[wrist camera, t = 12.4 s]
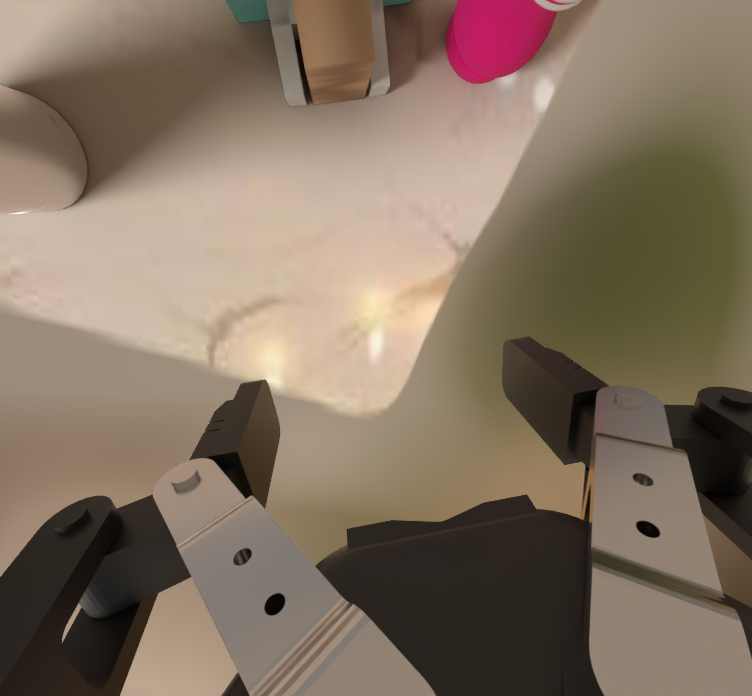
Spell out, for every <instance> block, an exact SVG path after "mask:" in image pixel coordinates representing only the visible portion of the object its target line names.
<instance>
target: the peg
mask: <svg viewBox="0 0 752 696" xmlns="http://www.w3.org/2000/svg"><path fill="white" fill-rule="evenodd" d="M293 4H294V10H295V15H296V21H297V27H298V33H299V38H300V44H301V50H302V56H303V61H304V67H305V72H306V76H307V80H308V84H309V88H310V92H311V96H312V100H313V104H314V105H319V104H326V103H334V102H341V101H348V100H356V99H363V98H364V97H365V94H366V91H367V87H368V84H369V81H370V77H371V74H372V70H373V67H374V64H375V60H376V57H375V47H374V38H373V28H372V19H371V9H370V0H293Z"/></svg>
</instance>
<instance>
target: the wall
mask: <svg viewBox="0 0 752 696" xmlns="http://www.w3.org/2000/svg"><path fill="white" fill-rule="evenodd" d="M226 1H227V3H228V5H229V7H230V8H231V10H232V12H233V14H234V15H235V17H236V19H237V21H238V22H239V23H243V22H252V21H260V20H269V19H270V18H269V13H268V8H267V3H266V0H226ZM410 1H411V0H383V6H388V5H397V4H405V3H410Z"/></svg>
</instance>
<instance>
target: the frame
mask: <svg viewBox="0 0 752 696" xmlns="http://www.w3.org/2000/svg"><path fill="white" fill-rule="evenodd" d="M266 3H267V8H268V13H269V18H270V24H271V29H272V34H273V39H274V44H275V49H276V54H277V60H278V65H279V70H280V75H281V80H282V85H283V90H284V96H285V99H286V101H287V103H288V105H289V107H294V106H302V105H307V104H306V98H305V92H304V87H303V81H302V75H301V69H300V64H299V58H298V52H297V46H296V41H295V40H300V38H299V33H298V27H297V21H296V15H295V10H294V4H293V0H266ZM370 9H371V19H372V28H373V38H374V47H375V57H376V60H375V64H374V67H373V70H372V74H371V77H370V81H369V84H368V95H369V97H372V96H380V95H386V93H387V91H388V89H389V87H390V77H389V66H388V55H387V44H386V33H385V22H384V11H383V0H370Z"/></svg>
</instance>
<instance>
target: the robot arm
mask: <svg viewBox="0 0 752 696" xmlns="http://www.w3.org/2000/svg"><path fill="white" fill-rule="evenodd" d="M87 173H88V171H87V162H86V157H85V154H84V151H83V148H82V145H81V143H80V142H79V140H78V138H77V136H76V134H75V133H74V131H73V130H72V128H71V127H70V126H69V124H68V123H67V122H66V121H65V120H64V119H63V118H62V117H61V116H60V115H59V114H58V113H57V112H56V111H55V110H54V109H52V108H51V107H50V106H48V105H47V104H46V103H44V102H43V101H41V100H39V99H37V98H35V97H33V96H31V95H29V94H26V93H23V92H20V91H17V90H14V89H11V88H8V87H5V86H2V85H0V214H18V213H34V212H49V211H57V210H61V209H64V208H66V207H69V206H70V205H71V204H73V203H74V202H75V201H77V200H78V198H79V197H80V196H81V194H82V193H83V190H84V188H85V185H86V182H87ZM502 374H503V375H502V384H503V389H504V392H505V395H506V397H507V398H508V400H509V401H510V402H511V403H512V404H513V405H514V407H515V408H516V409H517V410H518V411H519V412H520V414H521V415H522V416H523V417H524V418H525V419H526V421H527V422H528V423H529V424H530V425H531V426H532V428H534V430H535V431H536V432H537V433H538V435H539V436H540V437H541V438H542V439H543V440H544V442H545V443H546V444H547V445H548V446H549V447H550V448H551V449H552V451H553V452H554V453H555V454H556V456H557V457H558V458H559V459H560V460H561V461H562V463H563V464H564V465H567V464H572V463H578V462H583V463H584V464H585V469H584V477H583V488H582V500H581V512H580V519H579V518H577V517H574V516H571V515H568V514H564V513H560V512H556V511H550V510H543V509H536V508H535V506H534V505H533V503H532V502H531V500H530V499H529V497H528V496H527V495H522V496H517V497H511V498H506V499H501V500H496V501H490V502H485V503H482V504H480V505H478V506H476V507H474V508H471V509H469V510H467V511H465V512H463V513H461V514H459V515H456V516H454V517H452V518H450V519H448V520H445V521H442V522H423V521H396V520H391V521H386V522H381V523H376V524H371V525H365V526H360V527H355V528H350V529H347V542H348V545H346V546H344V547H342V548H340V549H338V550H337V551H335V552H333V553H331V554H330V555H329V556H327V557H326V558H324V559H323V560H322V561H321V562H319V563H318V564H317V565H316V566H314V564H312V562H311V561H310V560H309V559H308V558H307V556H306V555H305V554H304V553H303V552H302V551H301V550H300V549H299V547H298V546H297V545H296V544H295V543H294V542H293V541H292V539H291V538H290V537H289V536H288V535H287V534H286V533H285V532H284V530H283V529H282V528H281V527H280V526H279V525H278V523H277V522H276V521H275V520H274V519H273V518H272V517H271V515H270V514H269V513H268V512H267V511H266V510H265V506H266V502H267V497H268V492H269V487H270V482H271V477H272V473H273V468H274V463H275V458H276V453H277V449H278V444H279V439H280V425H279V420H278V416H277V413H276V409H275V406H274V403H273V399H272V395H271V392H270V388H269V385H268V383H267V381H266V380H259V381H253V382H247V383H242V384H241V385H240V387H239V389H238V391H237V394H236V395H235V397H234V399H233V400H229V401H226V402H225V403H224V404H223V405H222V406H220V407H219V408H218V409H217V410H216V411H215V412H214V414H213V416H212V418H211V420H210V424H208V426H207V428H206V429H205V433H203V435H202V437H201V439H200V441H199V443H198V445H197V447H196V448H195V451H194V452H193V454H192V456H191V458H190V460H189V461H187V462H184V463H182V464H180V465H178V466H176V467H174V468H172V469H171V470H170V471H168V472H167V473H166V474H164V475H163V476H162V478H160V479H159V481H158V482H157V483H156V485H155V487H154V490H153V495H150V496H148V497H146V498H143V499H140V500H138V501H135V502H133V503H130V504H128V505H125V506H123V507H120V508H118V509H116V507H115V506H114V504H113V502H112V501H111V499H110V498H108V497H106V496H93V497H89V498H85V499H83V500H80V501H78V502H75V503H73V504H71V505H69V506H67V507H66V508H64V509H63V510H61V511H59V512H58V513H56V514H55V515H54V516H53V517H51V518H50V519H49V520H48V521H46V522H45V523H44V524H43V525H42V526H41V527H40V529H39V530H38V531H37V532H36V533H35V535H34V536H33V537H32V539H31V540H30V541H29V542H28V543H27V545H26V546H25V547H24V548H23V550H22V551H21V552H20V553H19V555H18V556H17V557H16V558H15V560H14V561H13V562H12V563H11V565H10V566H9V567H8V568H7V570H6V571H5V572H4V573H3V575H2V576H1V577H0V696H120V694H121V691H122V688H123V686H124V683H125V680H126V678H127V675H128V672H129V669H130V667H131V664H132V662H133V659H134V656H135V653H136V651H137V648H138V646H139V642H140V640H141V637H142V635H143V632H144V630H145V627H146V624H147V622H148V619H149V616H150V614H151V611H152V608H153V605H154V603H155V600H156V597H157V595H158V593H159V592H161V591H163V590H165V589H167V588H169V587H172V586H174V585H176V584H178V583H180V582H182V581H184V580H186V579H188V578H190V577H192V579H193V581H194V583H195V585H196V587H197V589H198V591H199V593H200V595H201V597H202V599H203V601H204V603H205V605H206V607H207V609H208V611H209V613H210V615H211V617H212V620H213V622H214V624H215V626H216V628H217V630H218V632H219V634H220V636H221V638H222V640H223V642H224V644H225V646H226V648H227V650H228V652H229V654H230V656H231V658H232V660H233V662H234V664H235V666H236V668H237V670H238V673H237V674H236V675H235V677H234V679H233V680H232V681H231V683H230V684H229V685H228V687H227V688H226V690H225V691H224V693H223V694H222V695H221V696H752V608H751V607H749V606H747V605H745V604H743V603H741V602H740V601H737V600H736V599H734V598H732V597H730V596H728V595H726V594H724V593H722V589H721V586H720V582H719V578H718V574H717V570H716V566H715V562H714V559H713V555H712V551H711V547H710V544H709V539H708V535H707V531H706V527H705V523H704V519H703V515H704V516H705V517H707V518H708V519H709V520H710V521H711V522H712V523H713V524H714V525H715V526H716V527H717V528H718V529H719V530H720V531H722V532H723V533H724V534H725V535H726V536H727V537H728V538H729V539H730V540H731V541H732V542H733V543H734V544H735V545H736V546H737V547H739V548H740V549H741V550H742V551H743V552H744V553H745V554H746V555H747V556H748V557H749V558H750V559H751V560H752V392H748V391H744V390H740V389H735V388H728V387H708V388H705V389H702V390H700V391H699V393H698V395H697V398H696V401H695V405H694V406H693V405H663V403H662V401H661V400H660V399H659V398H657V397H656V396H655V395H653V394H651V393H649V392H647V391H644V390H641V389H638V388H634V387H629V386H609V385H607V384H606V383H604V382H603V381H601V380H600V379H599V378H597V377H596V376H594V375H593V374H591V373H590V372H588V371H587V370H586V369H582V367H581V366H580V365H578V364H577V363H576V362H573V360H571V359H570V358H568V357H567V356H565V355H564V354H563V353H560V352H557V351H555V350H552V349H549V348H545V347H543V346H542V345H541V344H539V343H538V342H536V341H535V340H534V339H532V338H531V337H522V338H516V339H511V340H506V341H505V342H504V346H503V371H502ZM702 514H703V515H702ZM78 603H79V604H80V605H81V607H82V608H81V609H80V611H79V613H78V615H77V617H76V619H75V621H74V622H73V624H72V626H71V628H70V630H69V632H68V633H67V635H66V637H65V639H64V641H63V643H62V637H63V633H64V630H65V627H66V625H67V623H68V621H69V619H70V617H71V616H72V614H73V611H74V610H75V608H76V606H77V605H78Z"/></svg>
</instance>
